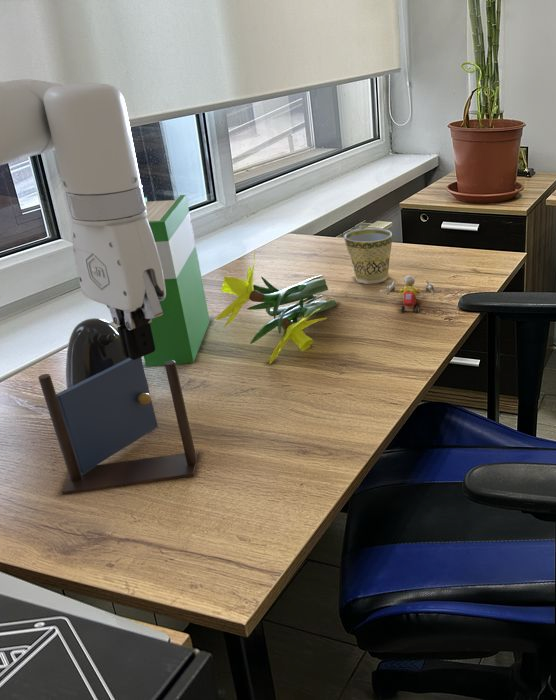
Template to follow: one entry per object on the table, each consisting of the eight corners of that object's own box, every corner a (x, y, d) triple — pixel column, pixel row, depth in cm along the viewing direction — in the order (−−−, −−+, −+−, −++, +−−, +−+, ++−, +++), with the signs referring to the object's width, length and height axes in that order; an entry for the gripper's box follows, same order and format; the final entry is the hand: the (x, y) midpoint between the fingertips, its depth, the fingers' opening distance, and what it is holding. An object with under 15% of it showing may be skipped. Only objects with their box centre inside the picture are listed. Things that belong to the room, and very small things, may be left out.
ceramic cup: (376, 291, 145) (373, 244, 141) (338, 283, 150) (334, 237, 146) (411, 272, 156) (409, 228, 151) (375, 265, 160) (372, 222, 156)
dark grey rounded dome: (100, 445, 95) (71, 342, 88) (63, 421, 101) (33, 323, 94) (169, 413, 102) (146, 316, 96) (130, 393, 108) (107, 300, 101)
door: (92, 476, 86) (68, 398, 82) (78, 472, 87) (54, 394, 83) (166, 429, 96) (149, 357, 91) (153, 425, 97) (136, 353, 92)
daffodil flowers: (375, 311, 138) (318, 340, 104) (314, 348, 141) (239, 389, 106) (329, 236, 136) (255, 241, 102) (268, 275, 139) (177, 293, 105)
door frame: (63, 497, 85) (27, 387, 78) (74, 473, 89) (41, 367, 83) (196, 478, 88) (172, 371, 81) (200, 456, 92) (178, 353, 86)
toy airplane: (408, 318, 132) (406, 286, 129) (378, 306, 138) (376, 275, 135) (444, 305, 138) (443, 274, 135) (414, 293, 144) (413, 263, 141)
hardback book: (168, 325, 131) (140, 197, 121) (210, 322, 132) (186, 194, 122) (146, 368, 115) (112, 224, 105) (194, 364, 116) (164, 221, 106)
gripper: (35, 202, 78) (74, 351, 86) (118, 222, 71) (152, 382, 79) (98, 189, 84) (129, 330, 92) (180, 206, 77) (206, 357, 85)
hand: (140, 354), depth 85 cm, fingers closed
